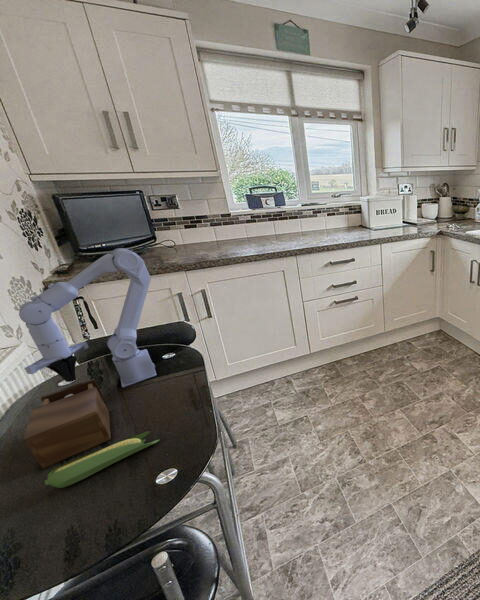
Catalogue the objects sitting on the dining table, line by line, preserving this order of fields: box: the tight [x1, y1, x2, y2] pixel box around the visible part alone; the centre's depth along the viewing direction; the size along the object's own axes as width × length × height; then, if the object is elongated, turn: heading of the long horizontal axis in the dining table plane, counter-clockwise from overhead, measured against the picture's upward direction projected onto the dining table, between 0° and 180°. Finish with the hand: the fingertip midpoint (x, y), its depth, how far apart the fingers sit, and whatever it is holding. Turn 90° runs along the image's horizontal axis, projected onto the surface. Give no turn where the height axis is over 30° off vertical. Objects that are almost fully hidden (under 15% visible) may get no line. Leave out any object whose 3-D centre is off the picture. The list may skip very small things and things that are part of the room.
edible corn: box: [44, 430, 161, 489], centre depth 76 cm, size 5×20×5 cm, turn 130°
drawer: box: [40, 378, 105, 406], centre depth 92 cm, size 18×11×7 cm, turn 42°
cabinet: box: [23, 387, 112, 469], centre depth 84 cm, size 15×13×9 cm
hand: (71, 380), depth 99 cm, fingers closed
